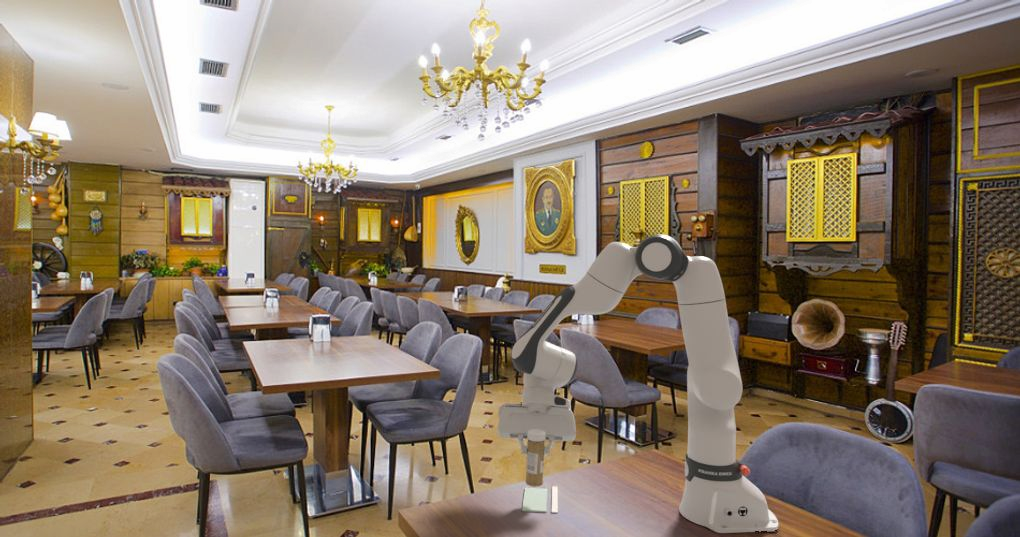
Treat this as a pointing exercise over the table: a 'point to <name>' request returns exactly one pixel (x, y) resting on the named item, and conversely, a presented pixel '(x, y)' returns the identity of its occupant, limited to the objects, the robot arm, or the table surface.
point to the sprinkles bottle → (535, 457)
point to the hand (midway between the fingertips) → (535, 454)
